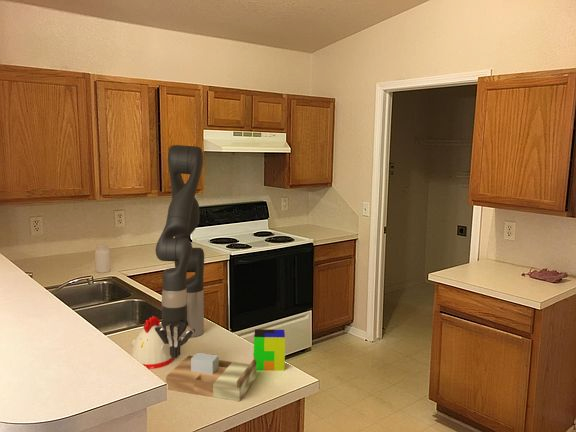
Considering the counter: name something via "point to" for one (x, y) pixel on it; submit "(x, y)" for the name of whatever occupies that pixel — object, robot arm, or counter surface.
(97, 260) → the pill bottle
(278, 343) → the puzzle toy
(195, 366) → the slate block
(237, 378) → the board
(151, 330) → the kitchen timer
